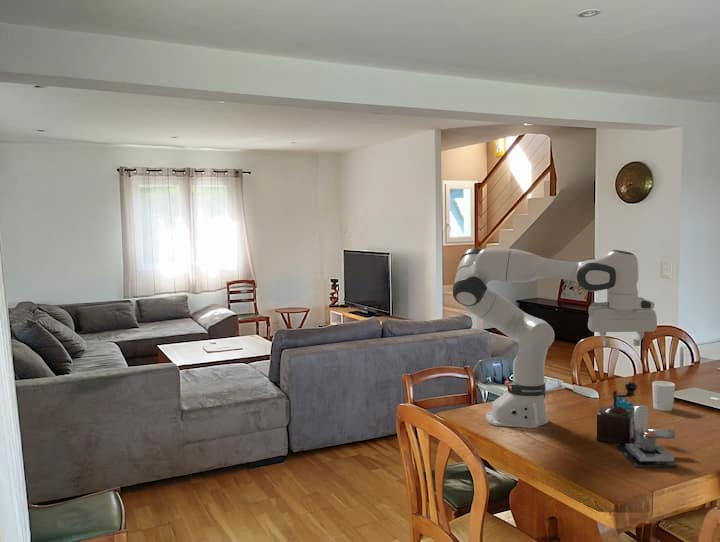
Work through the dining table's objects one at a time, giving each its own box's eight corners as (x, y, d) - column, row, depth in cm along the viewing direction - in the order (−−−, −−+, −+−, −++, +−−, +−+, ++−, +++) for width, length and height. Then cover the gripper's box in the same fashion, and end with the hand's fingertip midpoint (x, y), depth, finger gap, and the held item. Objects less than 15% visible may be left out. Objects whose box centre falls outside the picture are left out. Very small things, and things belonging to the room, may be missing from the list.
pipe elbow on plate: (635, 467, 178) (636, 419, 176) (615, 447, 193) (616, 402, 192) (691, 467, 177) (692, 419, 176) (666, 447, 193) (667, 402, 191)
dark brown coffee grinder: (631, 447, 194) (633, 392, 192) (595, 441, 199) (596, 388, 198) (637, 432, 207) (638, 381, 206) (603, 427, 213) (603, 377, 211)
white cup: (652, 410, 230) (653, 385, 230) (650, 404, 238) (651, 380, 237) (675, 412, 227) (676, 386, 227) (673, 406, 235) (673, 381, 234)
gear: (625, 420, 214) (611, 396, 221) (614, 428, 218) (601, 404, 224) (646, 420, 219) (633, 396, 225) (635, 428, 223) (622, 404, 229)
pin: (645, 460, 180) (646, 435, 180) (641, 456, 184) (641, 431, 183) (657, 460, 180) (657, 435, 180) (652, 456, 184) (652, 431, 183)
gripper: (591, 303, 184) (591, 347, 185) (659, 303, 183) (658, 347, 184) (585, 301, 190) (584, 343, 191) (650, 300, 189) (649, 343, 190)
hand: (621, 345), depth 188 cm, fingers open, 8 cm apart
